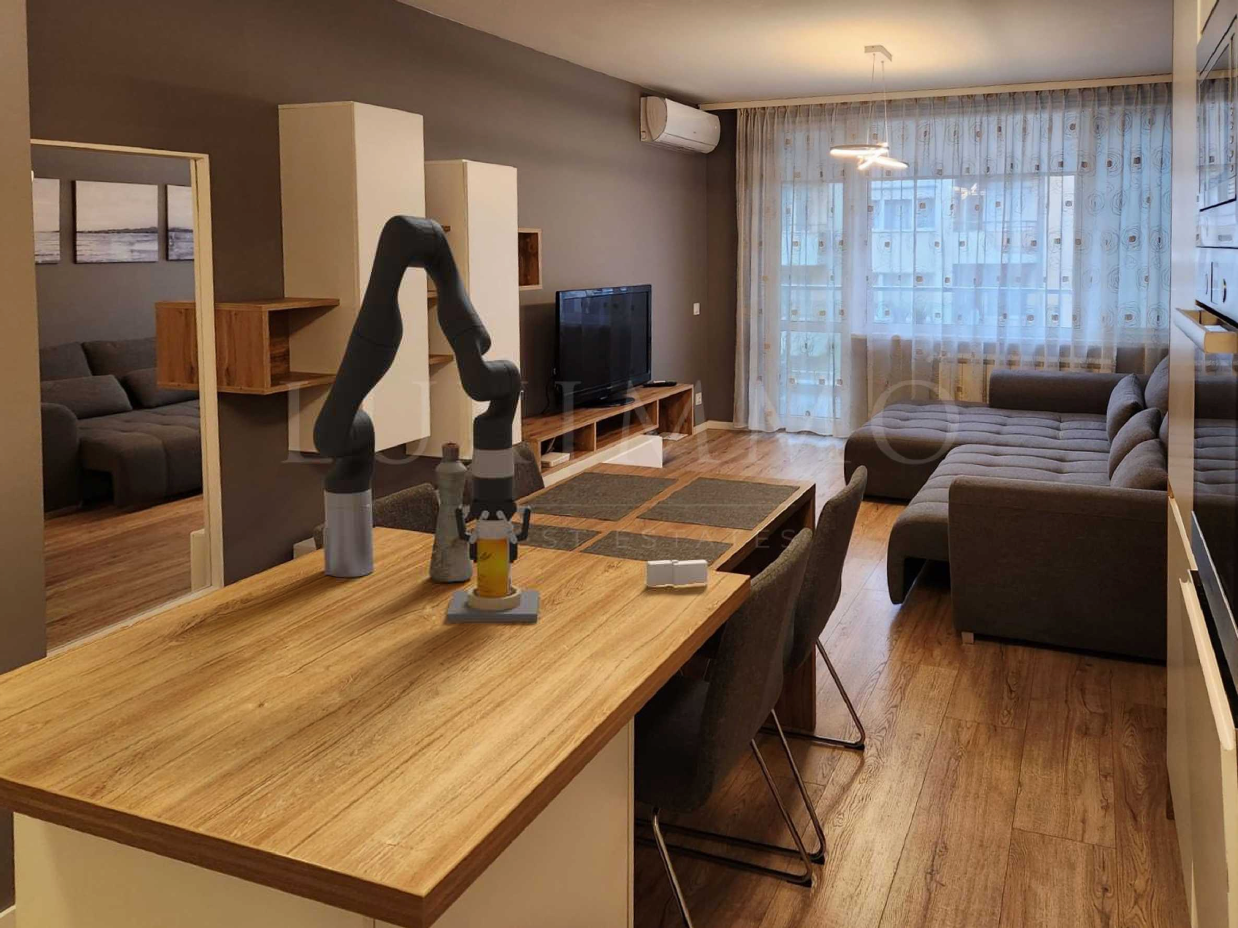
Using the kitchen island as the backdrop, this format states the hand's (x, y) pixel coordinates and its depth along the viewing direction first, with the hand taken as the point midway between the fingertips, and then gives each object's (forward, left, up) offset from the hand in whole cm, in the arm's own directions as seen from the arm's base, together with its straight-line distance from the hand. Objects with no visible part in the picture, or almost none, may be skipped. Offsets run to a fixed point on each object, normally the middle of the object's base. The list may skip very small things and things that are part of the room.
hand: (493, 561), depth 202 cm
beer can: (0, 0, -7) cm, 7 cm away
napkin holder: (+35, +15, -10) cm, 39 cm away
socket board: (0, 0, -9) cm, 9 cm away
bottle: (-10, +19, -9) cm, 24 cm away
